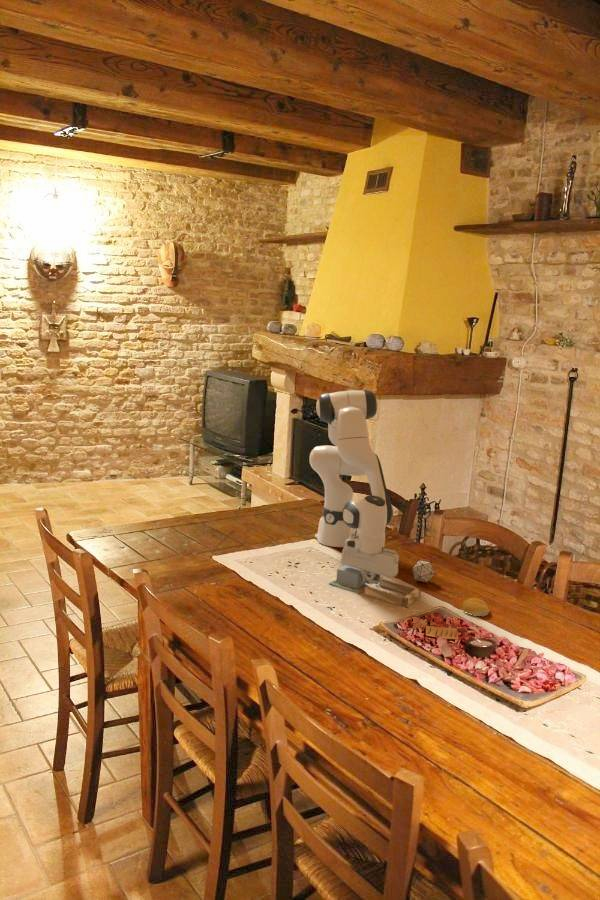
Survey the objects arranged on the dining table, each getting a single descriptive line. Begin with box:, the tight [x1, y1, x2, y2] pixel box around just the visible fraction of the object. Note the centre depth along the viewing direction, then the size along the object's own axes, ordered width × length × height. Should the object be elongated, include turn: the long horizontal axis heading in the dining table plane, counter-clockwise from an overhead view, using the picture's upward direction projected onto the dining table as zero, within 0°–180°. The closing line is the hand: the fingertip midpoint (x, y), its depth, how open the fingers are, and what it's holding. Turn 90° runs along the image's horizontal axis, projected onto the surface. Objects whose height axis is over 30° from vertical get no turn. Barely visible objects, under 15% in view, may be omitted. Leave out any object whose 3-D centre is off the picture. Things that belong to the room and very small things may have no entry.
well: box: [366, 571, 381, 581], centre depth 261 cm, size 5×9×2 cm, turn 57°
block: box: [335, 565, 366, 590], centre depth 253 cm, size 6×8×5 cm
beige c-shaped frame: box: [364, 577, 422, 608], centre depth 245 cm, size 11×15×2 cm
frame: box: [328, 578, 379, 594], centre depth 253 cm, size 13×12×1 cm
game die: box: [409, 557, 437, 585], centre depth 258 cm, size 9×8×10 cm
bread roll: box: [462, 597, 490, 617], centre depth 236 cm, size 8×9×4 cm
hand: (367, 583), depth 250 cm, fingers closed
